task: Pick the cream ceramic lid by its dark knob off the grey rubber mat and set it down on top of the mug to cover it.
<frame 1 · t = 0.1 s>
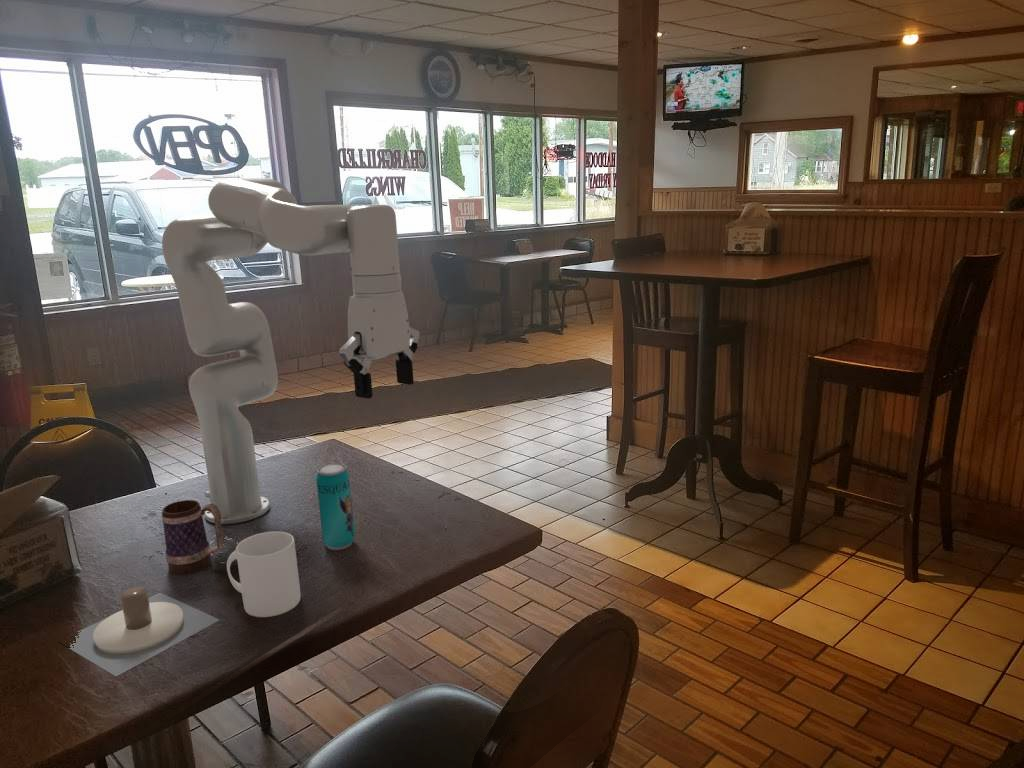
hand: (385, 390, 121), 31 cm above the table, fingers open, 9 cm apart
beverage can: (339, 545, 137), on the table
mug 2: (199, 569, 130), on the table
lid: (140, 630, 110), point 1 cm above the table, touching mat
mug: (264, 605, 118), on the table
mat: (140, 633, 111), on the table
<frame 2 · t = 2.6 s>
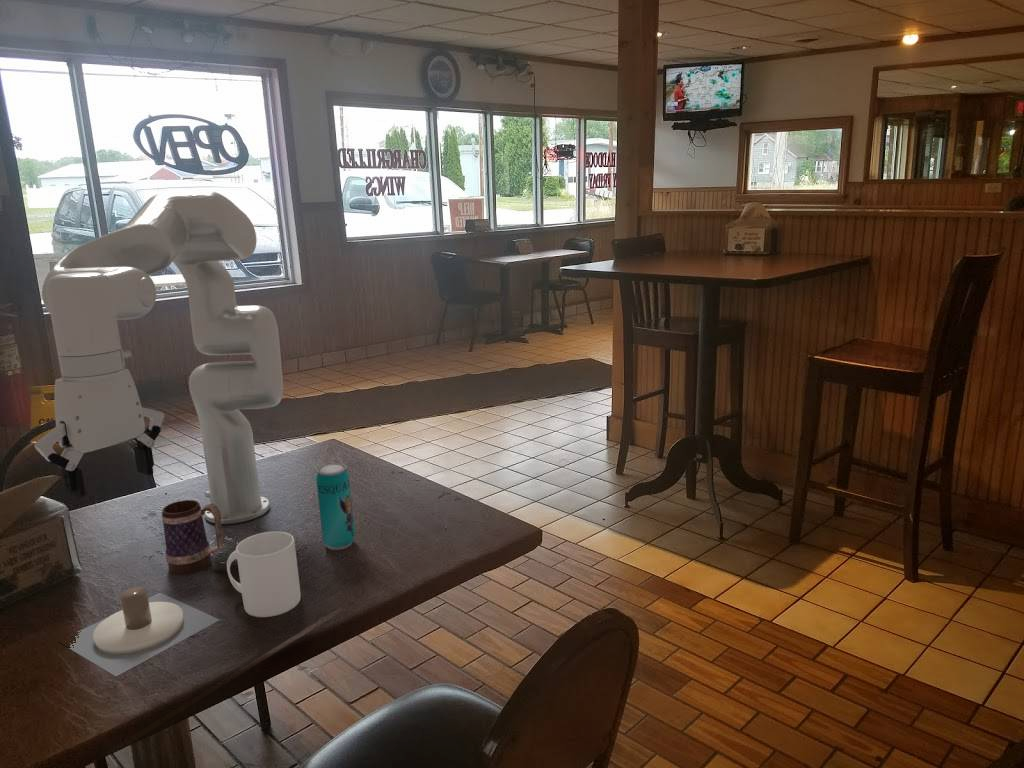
hand: (112, 483, 105), 24 cm above the table, fingers open, 9 cm apart
nothing on the table moved.
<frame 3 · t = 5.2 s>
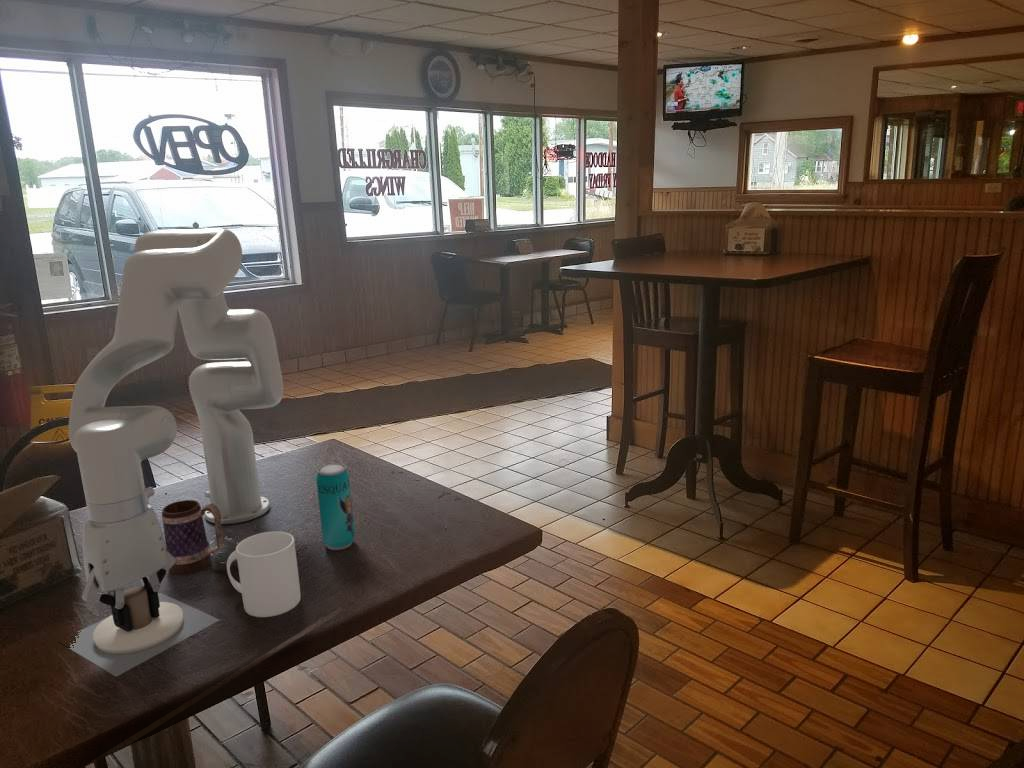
hand: (138, 620, 110), 2 cm above the table, fingers closed on lid, 3 cm apart
lid: (140, 630, 110), point 1 cm above the table, touching gripper, mat
everything else where it was.
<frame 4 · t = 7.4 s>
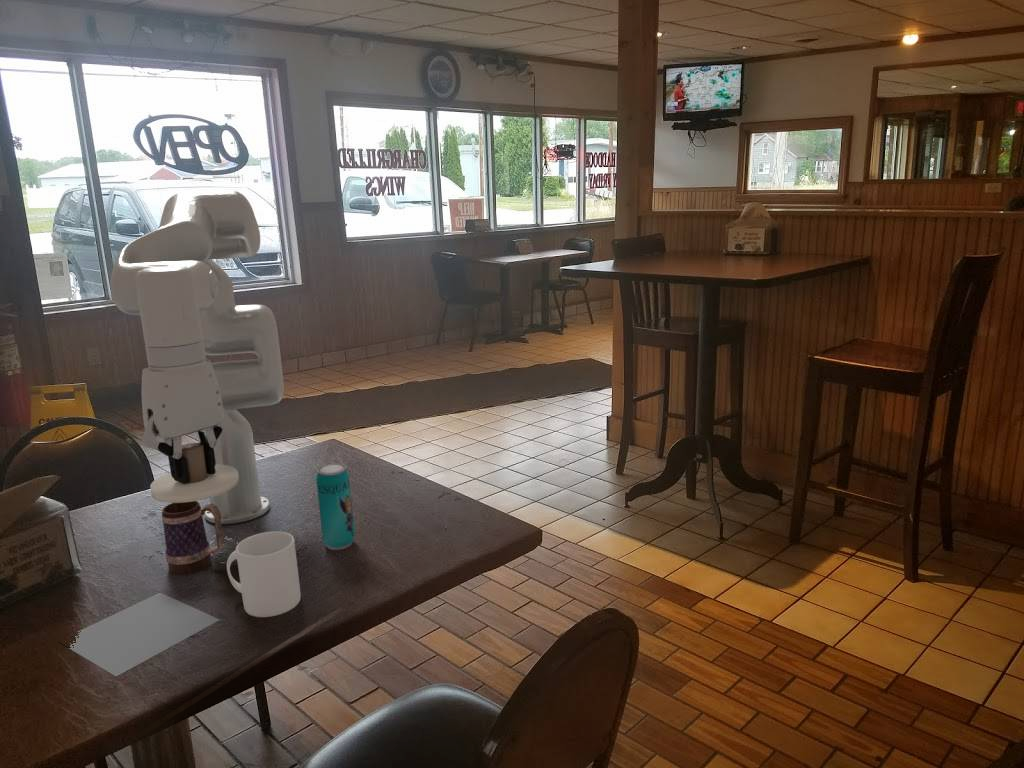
hand: (194, 475, 109), 23 cm above the table, fingers closed on lid, 3 cm apart
lid: (196, 486, 110), point 21 cm above the table, touching gripper
everything else where it was.
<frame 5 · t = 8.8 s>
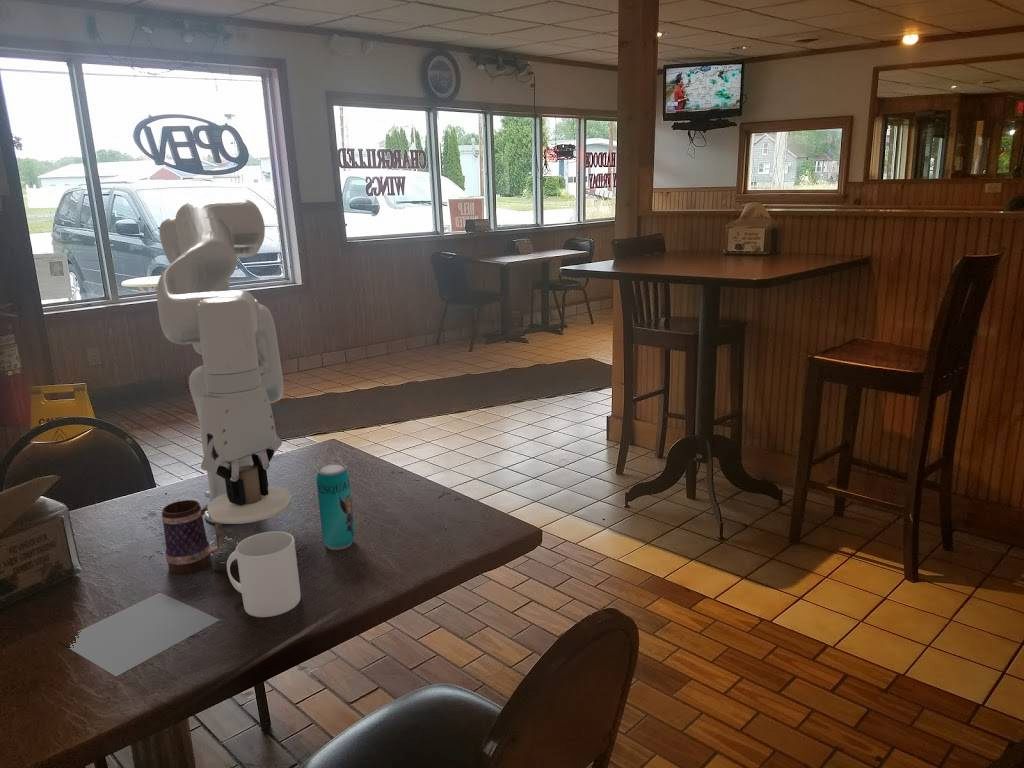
hand: (249, 497, 113), 18 cm above the table, fingers closed on lid, 3 cm apart
lid: (250, 507, 113), point 17 cm above the table, touching gripper
everything else where it was.
when the fingers open (14 cm above the table, at t = 9.8 s): lid drops 2 cm, resting on mug.
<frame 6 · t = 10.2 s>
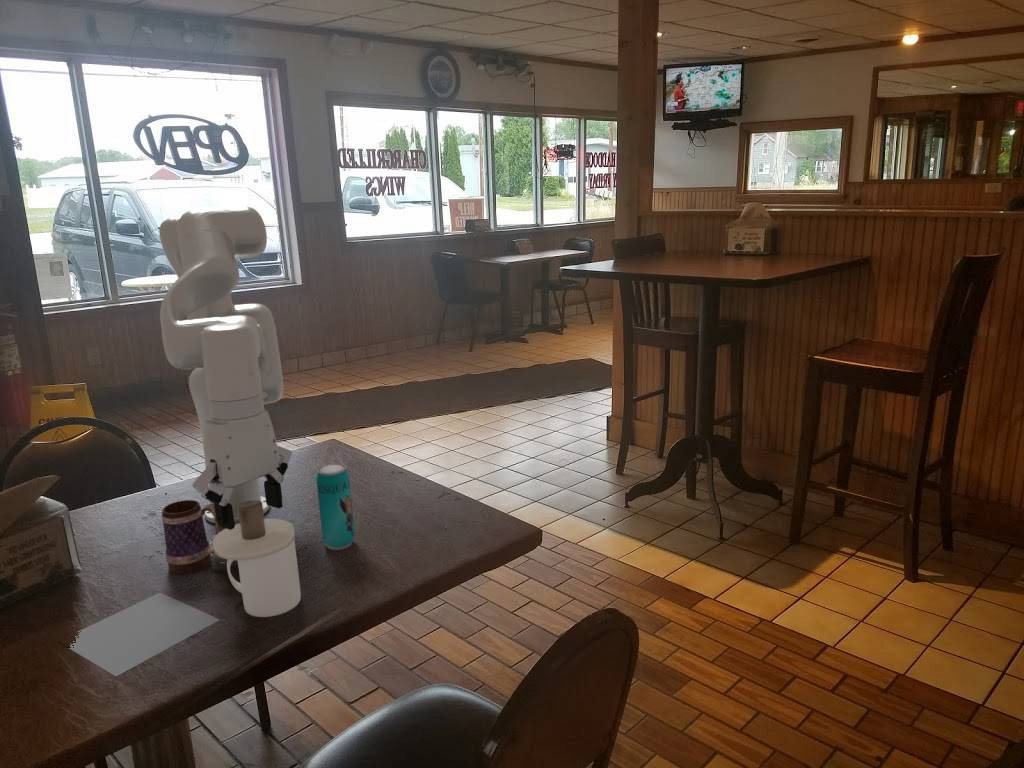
hand: (251, 516, 114), 15 cm above the table, fingers open, 8 cm apart
lid: (254, 541, 115), point 11 cm above the table, touching mug
mug: (264, 605, 118), on the table, touching lid
everything else where it was.
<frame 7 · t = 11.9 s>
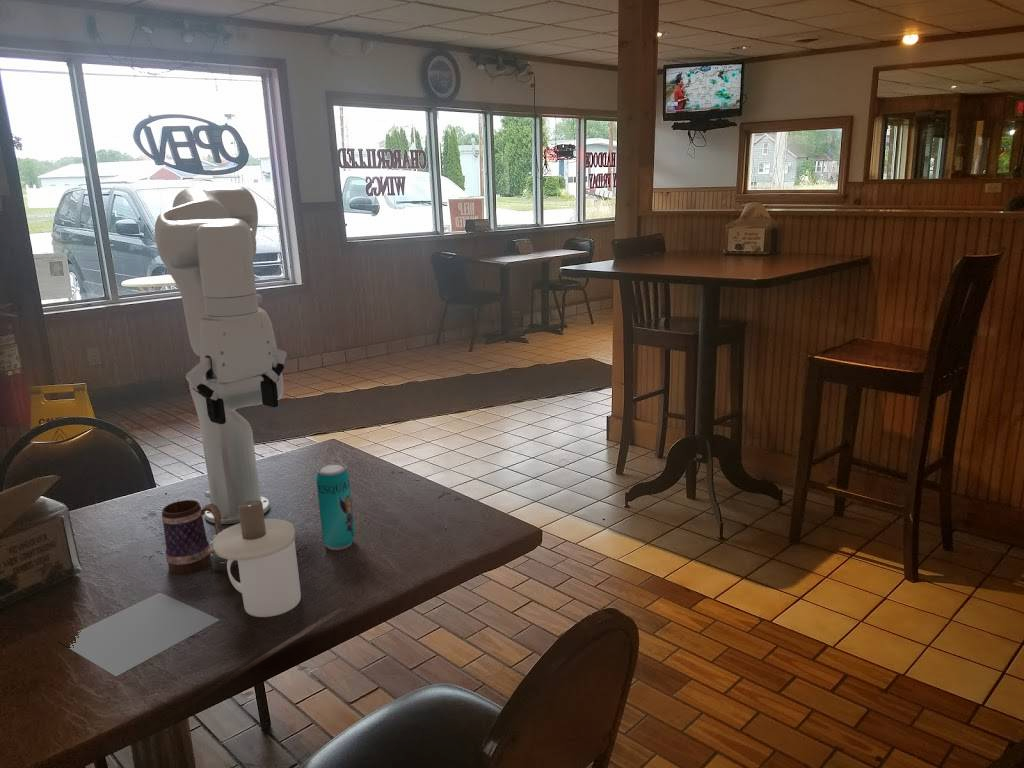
hand: (245, 413, 117), 29 cm above the table, fingers open, 9 cm apart
nothing on the table moved.
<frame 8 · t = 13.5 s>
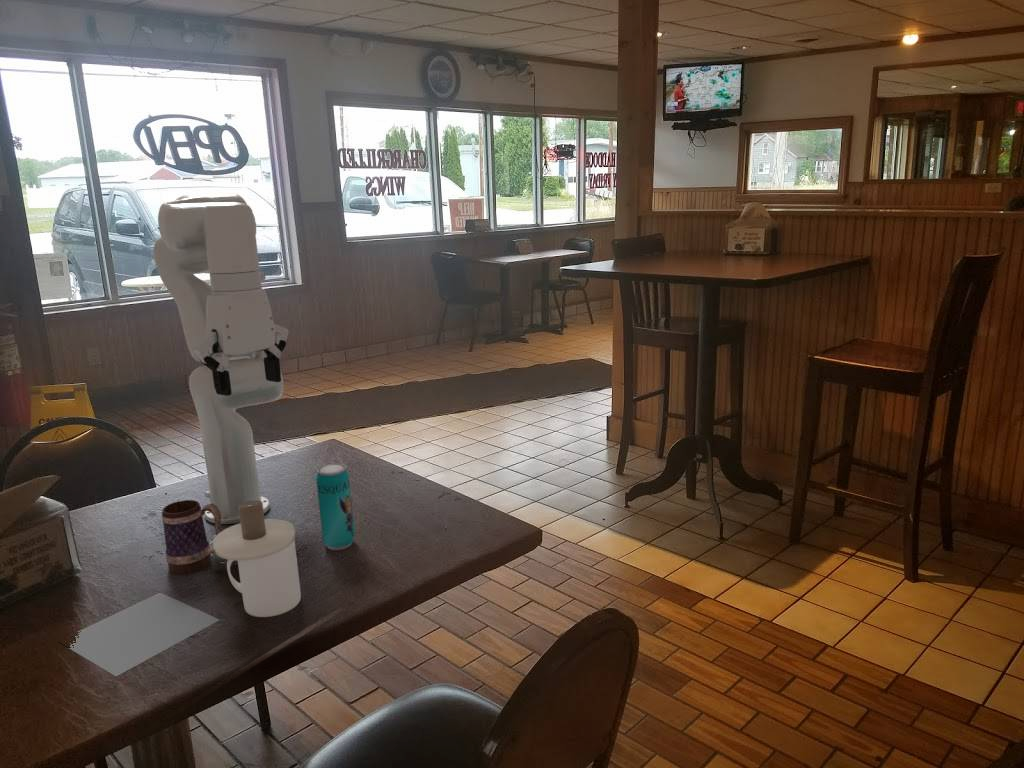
hand: (249, 387, 122), 32 cm above the table, fingers open, 9 cm apart
nothing on the table moved.
at the end: lid 0.1 cm off-centre on the mug, point 10.9 cm above the mug's base; the gripper is holding nothing; mug tilted 0° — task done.
